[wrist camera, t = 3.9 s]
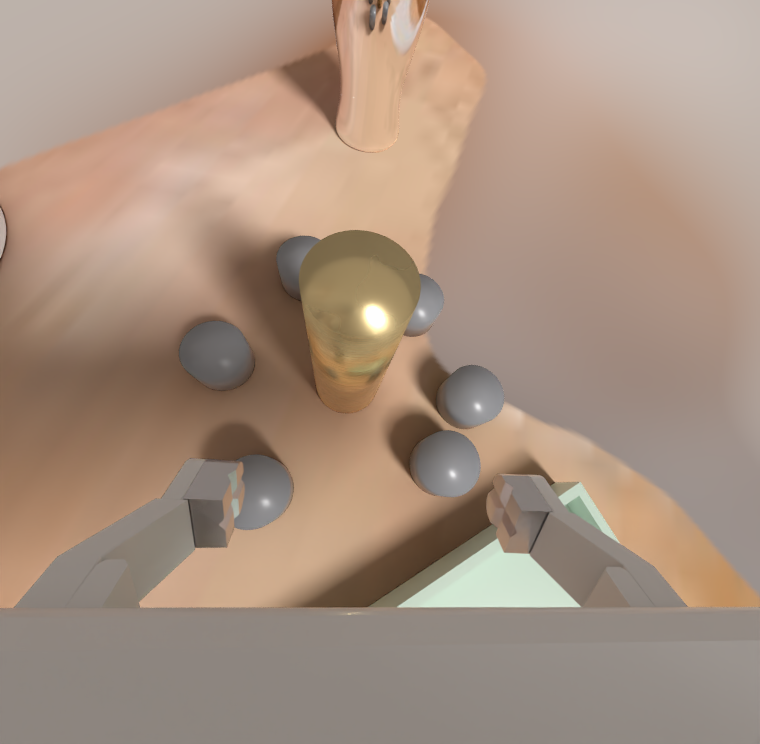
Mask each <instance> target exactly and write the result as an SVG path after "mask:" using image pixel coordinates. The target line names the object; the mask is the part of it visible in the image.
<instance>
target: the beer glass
mask: <svg viewBox="0 0 760 744" xmlns="http://www.w3.org/2000/svg"><path fill="white" fill-rule="evenodd" d="M428 5H429V0H332V11H333V20H334V27H335V36H336V44H337V51H338V59H339V68H340V97H339V104H338V109H337V114H336V121H335V126H336V131H337V133H338V135H339V137H340V138H341V139H342V140H343V141H344V142H345V143H346V144H347V145H349V146H350V147H352V148H354V149H357V150H360V151H364V152H380V151H383V150H386V149H388V148H390V147H391V146H392V145H393V144H394V143H395V142H396V140H397V138H398V134H399V107H400V98H401V93H402V89H403V85H404V81H405V78H406V75H407V72H408V69H409V66H410V63H411V60H412V57H413V54H414V51H415V48H416V45H417V42H418V39H419V36H420V33H421V30H422V26H423V23H424V20H425V16H426V13H427V9H428Z"/></svg>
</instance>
